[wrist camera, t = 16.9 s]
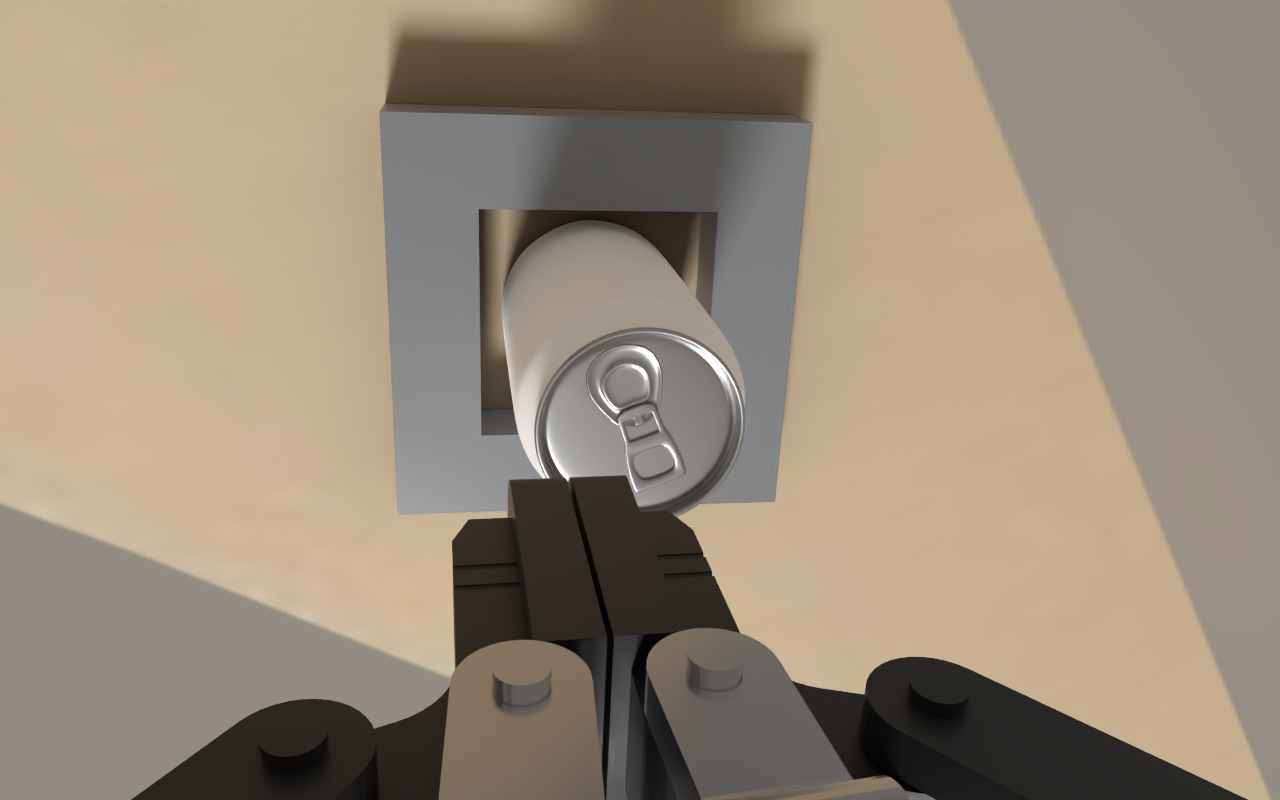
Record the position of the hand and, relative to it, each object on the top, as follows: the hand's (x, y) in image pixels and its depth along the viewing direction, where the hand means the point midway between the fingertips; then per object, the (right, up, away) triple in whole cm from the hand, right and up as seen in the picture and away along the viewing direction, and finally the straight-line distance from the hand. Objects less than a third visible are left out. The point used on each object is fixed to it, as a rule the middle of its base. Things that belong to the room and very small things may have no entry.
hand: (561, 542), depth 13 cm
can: (-1, +5, +25) cm, 26 cm away
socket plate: (-1, +5, +25) cm, 26 cm away
